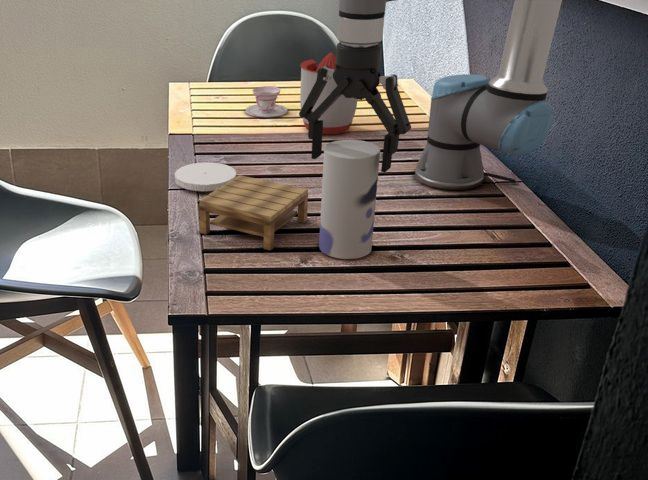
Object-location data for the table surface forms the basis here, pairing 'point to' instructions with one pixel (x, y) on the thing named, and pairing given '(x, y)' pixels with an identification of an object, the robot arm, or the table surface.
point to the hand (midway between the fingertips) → (350, 163)
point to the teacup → (266, 103)
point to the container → (348, 198)
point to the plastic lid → (204, 176)
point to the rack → (253, 207)
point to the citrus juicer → (340, 111)
